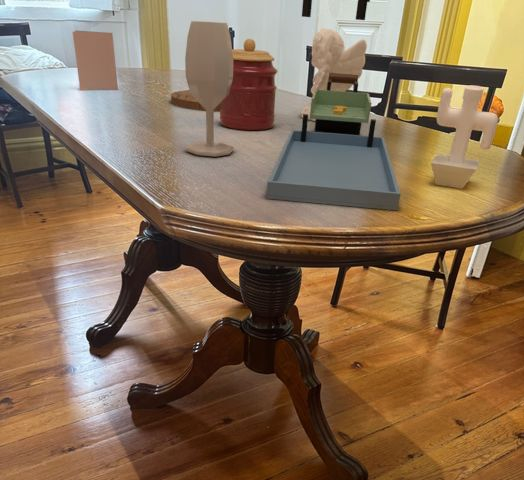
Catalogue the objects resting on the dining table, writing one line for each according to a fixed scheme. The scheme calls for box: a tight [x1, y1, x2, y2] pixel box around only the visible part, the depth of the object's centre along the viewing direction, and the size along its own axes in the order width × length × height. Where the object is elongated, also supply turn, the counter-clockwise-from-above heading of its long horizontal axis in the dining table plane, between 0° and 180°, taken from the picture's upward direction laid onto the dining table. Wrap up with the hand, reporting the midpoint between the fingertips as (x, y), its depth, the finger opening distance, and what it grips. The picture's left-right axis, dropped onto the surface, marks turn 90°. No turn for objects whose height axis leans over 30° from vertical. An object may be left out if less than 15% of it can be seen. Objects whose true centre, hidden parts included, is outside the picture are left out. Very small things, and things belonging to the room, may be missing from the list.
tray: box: [266, 129, 402, 211], centre depth 91 cm, size 40×19×2 cm, turn 172°
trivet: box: [170, 89, 221, 112], centre depth 145 cm, size 25×25×2 cm
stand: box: [301, 114, 377, 148], centre depth 111 cm, size 14×15×6 cm
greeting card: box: [72, 29, 119, 91], centre depth 153 cm, size 11×7×15 cm, turn 84°
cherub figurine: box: [300, 27, 368, 122], centre depth 130 cm, size 13×12×20 cm
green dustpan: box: [310, 73, 372, 124], centre depth 113 cm, size 24×12×6 cm, turn 172°
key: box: [333, 106, 347, 115], centre depth 109 cm, size 7×3×1 cm, turn 172°
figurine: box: [430, 84, 499, 190], centre depth 84 cm, size 7×9×15 cm
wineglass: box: [184, 20, 234, 158], centre depth 92 cm, size 9×9×21 cm
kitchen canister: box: [219, 38, 278, 131], centre depth 117 cm, size 13×13×18 cm
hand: (333, 18), depth 112 cm, fingers open, 13 cm apart
